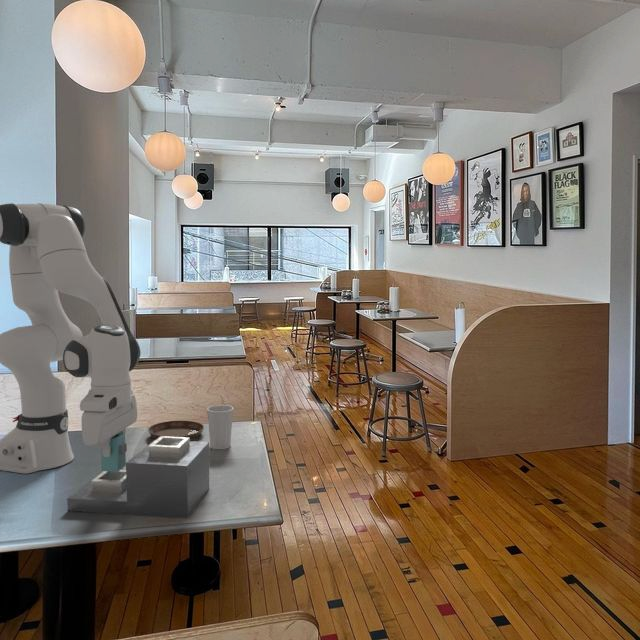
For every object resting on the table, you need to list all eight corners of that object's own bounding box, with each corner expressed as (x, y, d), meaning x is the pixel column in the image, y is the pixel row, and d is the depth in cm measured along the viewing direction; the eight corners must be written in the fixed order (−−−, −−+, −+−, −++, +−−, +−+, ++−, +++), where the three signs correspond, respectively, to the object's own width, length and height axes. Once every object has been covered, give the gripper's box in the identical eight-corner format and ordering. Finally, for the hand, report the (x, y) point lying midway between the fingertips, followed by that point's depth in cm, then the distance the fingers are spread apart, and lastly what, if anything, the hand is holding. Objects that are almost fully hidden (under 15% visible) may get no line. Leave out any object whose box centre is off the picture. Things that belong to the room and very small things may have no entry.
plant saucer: (202, 426, 185) (202, 418, 185) (205, 443, 168) (205, 433, 168) (149, 430, 180) (149, 421, 180) (147, 447, 163) (147, 437, 163)
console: (67, 511, 120) (65, 449, 119) (102, 482, 136) (101, 427, 134) (187, 518, 118) (187, 454, 116) (209, 488, 133) (208, 432, 132)
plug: (101, 471, 125) (100, 429, 124) (109, 464, 129) (108, 424, 128) (121, 472, 124) (120, 430, 123) (128, 465, 128) (127, 425, 127)
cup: (238, 445, 166) (238, 407, 165) (221, 452, 159) (220, 413, 158) (219, 440, 170) (219, 403, 169) (201, 447, 163) (201, 409, 162)
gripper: (119, 384, 135) (120, 437, 137) (75, 405, 115) (77, 466, 117) (143, 385, 135) (144, 438, 136) (103, 406, 115) (104, 468, 116)
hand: (113, 451), depth 126 cm, fingers closed on plug, 4 cm apart
